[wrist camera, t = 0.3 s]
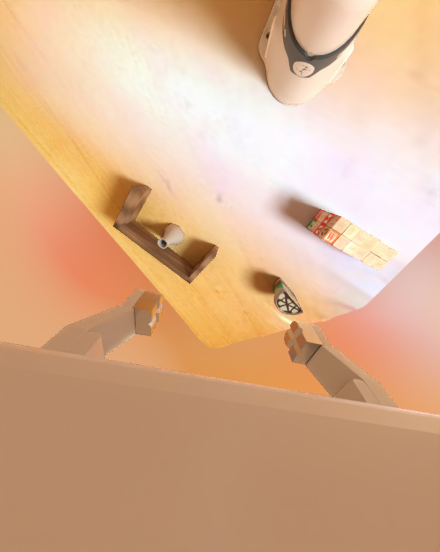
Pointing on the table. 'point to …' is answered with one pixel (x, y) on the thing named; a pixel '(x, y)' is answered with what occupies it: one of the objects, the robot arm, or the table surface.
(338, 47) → the robot arm
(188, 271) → the u-shaped enclosure
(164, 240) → the flask
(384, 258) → the stack of blocks
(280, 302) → the food container
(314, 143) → the table surface
